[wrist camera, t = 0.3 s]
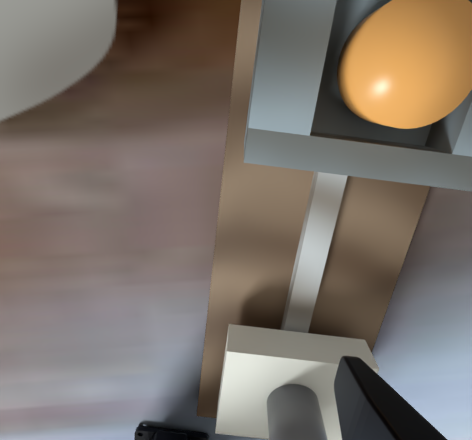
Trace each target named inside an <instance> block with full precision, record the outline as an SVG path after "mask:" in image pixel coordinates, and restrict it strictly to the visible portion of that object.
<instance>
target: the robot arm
mask: <svg viewBox="0 0 472 440" xmlns="http://www.w3.org/2000/svg"><path fill="white" fill-rule="evenodd" d="M334 393H335V399H336V406H337V412H338V418H339V424H340V430H341V436H342V440H447V439H446V438H445V437H444V436H443V435H442V434H441V433H440V432H439V431H438V430H436V429H435V428H434V427H433V426H432V425H431V424H430V423H429V422H428V421H427V420H426V419H425V418H424V417H423V416H422V415H420V414H419V413H418V412H417V411H416V410H415V409H414V408H413V407H412V406H411V405H410V404H409V403H408V402H407V401H406V400H404V399H403V398H402V397H401V396H400V395H399V394H398V393H397V392H396V391H395V390H394V389H393V388H392V387H391V386H390V385H389V384H387V383H386V382H385V381H384V380H383V379H382V378H381V377H380V376H379V375H378V374H377V373H376V372H375V371H374V370H373V369H371V368H370V367H369V366H368V365H367V364H366V363H365V362H364V361H363V360H362V359H361V358H359V357H355V356H342V357H341V359H340V362H339V365H338V369H337V372H336V376H335V379H334ZM135 440H209V436H208V435H207V434H206V433H199V432H190V431H181V430H172V429H163V428H153V427H144V426H139V427H137V428H136V431H135Z"/></svg>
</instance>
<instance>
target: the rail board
mask: <svg viewBox="0 0 472 440" xmlns="http://www.w3.org/2000/svg"><path fill="white" fill-rule="evenodd" d="M390 1H392V0H241V8H240V17H239V27H238V36H237V45H236V54H235V64H234V73H233V82H232V92H231V101H230V110H229V119H228V129H227V138H226V147H225V156H224V166H223V175H222V184H221V193H220V203H219V212H218V221H217V230H216V240H215V249H214V258H213V268H212V277H211V286H210V295H209V305H208V314H207V323H206V332H205V342H204V351H203V360H202V369H201V379H200V388H199V397H198V406H197V416H201V417H210V418H217V407H218V398H219V391H220V384H221V376H222V369H223V362H224V355H225V348H226V341H227V333H228V326H229V324H234V325H242V326H251V327H259V328H268V329H277V330H285V331H294V332H302V333H311V334H319V335H328V336H337V337H345V338H354V339H362V340H365V341H366V343H367V345H368V347H369V349H370V351H371V353H372V350H373V347H374V344H375V341H376V339H377V336H378V333H379V330H380V327H381V324H382V322H383V319H384V316H385V313H386V310H387V308H388V305H389V302H390V299H391V296H392V293H393V291H394V288H395V285H396V282H397V279H398V276H399V274H400V271H401V268H402V265H403V262H404V260H405V257H406V254H407V251H408V248H409V245H410V243H411V240H412V237H413V234H414V231H415V228H416V226H417V223H418V220H419V217H420V214H421V212H422V209H423V206H424V203H425V200H426V197H427V195H428V192H429V189H430V186H433V187H441V188H448V189H456V190H464V191H472V90H471V91H470V93H469V94H468V95H467V97H466V98H465V99H464V100H463V101H462V103H461V104H460V105H459V106H458V107H456V108H455V109H454V110H453V111H452V112H451V113H449V114H448V115H447V116H445V117H443V118H442V119H440V120H438V121H436V122H434V123H432V124H429V125H426V126H423V127H418V128H412V129H401V128H395V127H390V126H385V125H381V124H377V123H372V122H369V121H366V120H363V119H361V118H360V117H358V116H357V115H355V114H354V113H353V112H352V111H351V110H350V109H349V108H348V107H347V106H346V104H345V103H344V101H343V99H342V97H341V94H340V92H339V88H338V83H337V66H338V60H339V56H340V53H341V50H342V48H343V45H344V43H345V41H346V39H347V38H348V36H349V35H350V33H351V32H352V30H353V29H354V28H355V27H356V26H357V25H358V24H359V23H360V22H361V21H362V20H363V19H364V18H366V17H367V16H368V15H370V14H371V13H373V12H374V11H376V10H377V9H379V8H381V7H382V6H384V5H385V4H387V3H389V2H390ZM469 1H470V2H471V3H472V0H469Z"/></svg>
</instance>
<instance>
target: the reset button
mask: <svg viewBox="0 0 472 440" xmlns="http://www.w3.org/2000/svg"><path fill="white" fill-rule="evenodd" d="M337 83H338V88H339V92H340V94H341V97H342V99H343V101H344V103H345V104H346V106H347V107H348V108H349V109H350V110H351V111H352V112H353V113H354V114H355V115H357V116H358V117H360V118H361V119H363V120H366V121H369V122H372V123H377V124H381V125H385V126H390V127H395V128H401V129H412V128H418V127H423V126H426V125H429V124H432V123H434V122H436V121H438V120H440V119H442V118H443V117H445V116H447V115H448V114H449V113H451V112H452V111H453V110H454V109H455V108H456V107H458V106H459V105H460V104H461V103H462V101H463V100H464V99H465V98H466V97H467V95H468V94H469V93H470V91H471V90H472V3H471V2H470V1H469V0H392V1H390V2H389V3H387V4H385V5H384V6H382V7H381V8H379V9H377V10H376V11H374V12H373V13H371V14H370V15H368V16H367V17H366V18H364V19H363V20H362V21H361V22H360V23H359V24H358V25H357V26H356V27H355V28H354V29H353V30H352V32H351V33H350V35H349V36H348V38H347V39H346V41H345V43H344V45H343V48H342V50H341V53H340V56H339V60H338V66H337Z"/></svg>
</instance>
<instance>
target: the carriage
mask: <svg viewBox="0 0 472 440" xmlns="http://www.w3.org/2000/svg"><path fill="white" fill-rule="evenodd" d="M342 356H355V357H359V358H361V359H362V360H363V361H364V362H365V363H366V364H367V365H368V366H369V367H370V368H371V369H373V370H374V371H375V372H376V373H377V374H378V371H379V367H378V365H377V363H376V361H375V359H374V357H373V355H372V353H371V351H370V349H369V347H368V345H367V343H366V341H365V340H362V339H354V338H345V337H337V336H328V335H319V334H311V333H302V332H294V331H285V330H277V329H268V328H259V327H251V326H242V325H234V324H229V326H228V333H227V341H226V348H225V355H224V362H223V369H222V376H221V384H220V391H219V398H218V407H217V419H216V430H215V434H224V435H233V436H243V437H252V438H261V439H269V440H342V436H341V430H340V424H339V418H338V412H337V406H336V399H335V393H334V379H335V376H336V372H337V369H338V365H339V362H340V359H341V357H342Z"/></svg>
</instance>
